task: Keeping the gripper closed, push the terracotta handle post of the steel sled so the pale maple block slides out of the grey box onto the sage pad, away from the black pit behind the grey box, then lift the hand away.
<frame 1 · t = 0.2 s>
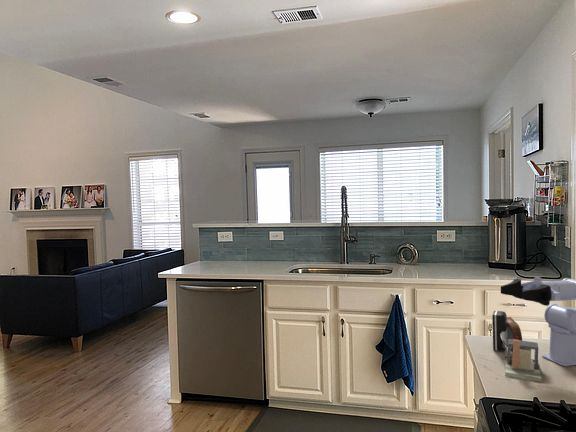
hand: (511, 292, 125), 21 cm above the counter, tool horizontal, fingers open, 7 cm apart
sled: (522, 351, 125), point 5 cm above the counter, slide at 0.0 cm
grey box: (522, 353, 126), on the track board, point 4 cm above the counter
tin: (510, 346, 143), on the counter, touching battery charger
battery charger: (500, 349, 141), on the counter, touching tin
track board: (521, 367, 126), on the counter
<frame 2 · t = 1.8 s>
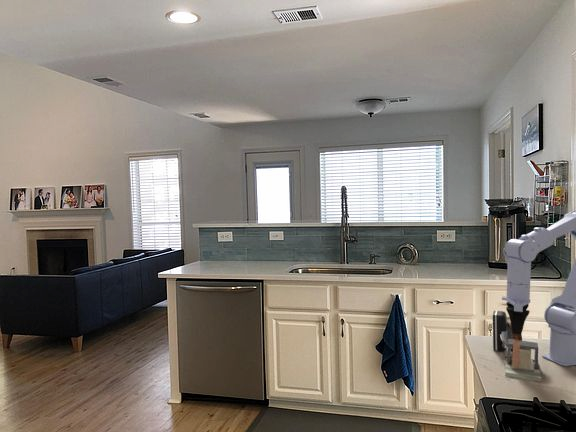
hand: (516, 330, 126), 10 cm above the counter, tool pointing down, fingers open, 5 cm apart
tin: (509, 346, 143), on the counter
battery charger: (500, 348, 141), on the counter
everything else where it was.
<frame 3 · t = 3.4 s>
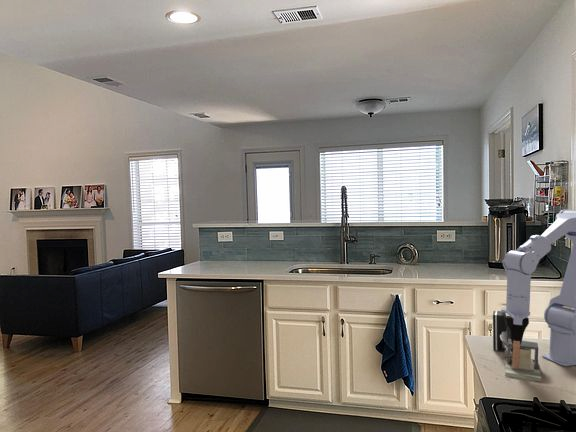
hand: (516, 343, 124), 7 cm above the counter, tool pointing down, fingers closed
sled: (522, 351, 125), point 5 cm above the counter, slide at 0.0 cm, touching gripper
everything else where it was.
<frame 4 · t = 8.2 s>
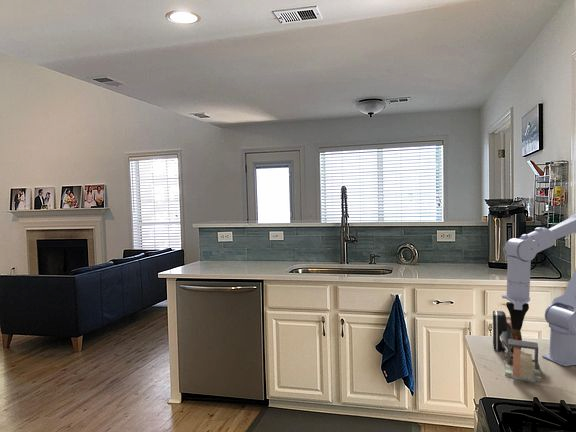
hand: (516, 328, 127), 10 cm above the counter, tool pointing down, fingers closed
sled: (523, 360, 119), point 5 cm above the counter, slide at 6.9 cm
everything else where it was.
at the end: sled slide at 6.9 cm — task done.
